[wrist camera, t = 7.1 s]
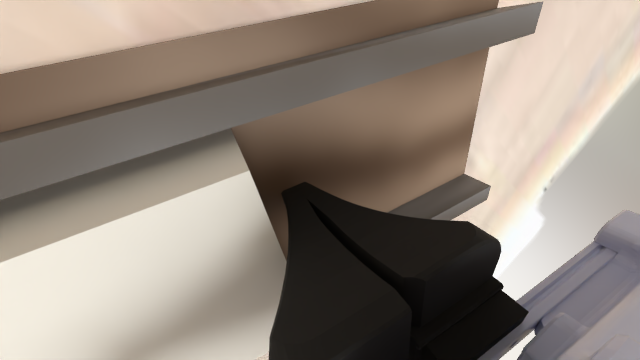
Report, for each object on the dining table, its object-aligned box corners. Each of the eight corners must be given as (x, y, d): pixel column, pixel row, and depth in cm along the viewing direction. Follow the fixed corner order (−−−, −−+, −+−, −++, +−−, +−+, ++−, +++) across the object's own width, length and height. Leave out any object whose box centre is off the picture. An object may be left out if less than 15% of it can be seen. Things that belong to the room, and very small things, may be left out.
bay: (448, 193, 20) (512, 229, 16) (135, 356, 13) (110, 487, 9) (483, -20, 12) (625, -55, 8) (-224, 120, 6) (-1287, 295, 2)
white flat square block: (284, 259, 13) (312, 325, 10) (121, 341, 11) (90, 459, 8) (230, 127, 9) (249, 170, 6) (-60, 218, 7) (-298, 373, 3)
